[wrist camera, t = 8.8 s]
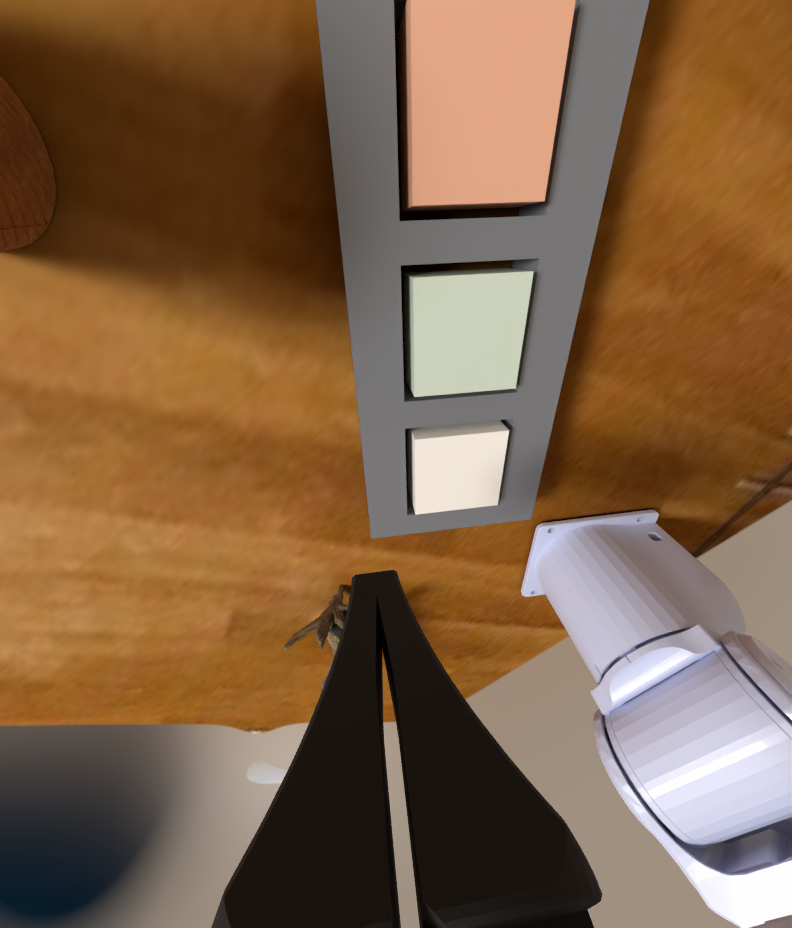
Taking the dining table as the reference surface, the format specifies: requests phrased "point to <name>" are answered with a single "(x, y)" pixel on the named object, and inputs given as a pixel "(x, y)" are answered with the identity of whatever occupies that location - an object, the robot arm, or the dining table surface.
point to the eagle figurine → (326, 626)
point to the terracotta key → (479, 100)
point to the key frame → (465, 248)
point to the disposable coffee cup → (22, 175)
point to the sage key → (464, 329)
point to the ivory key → (456, 465)
